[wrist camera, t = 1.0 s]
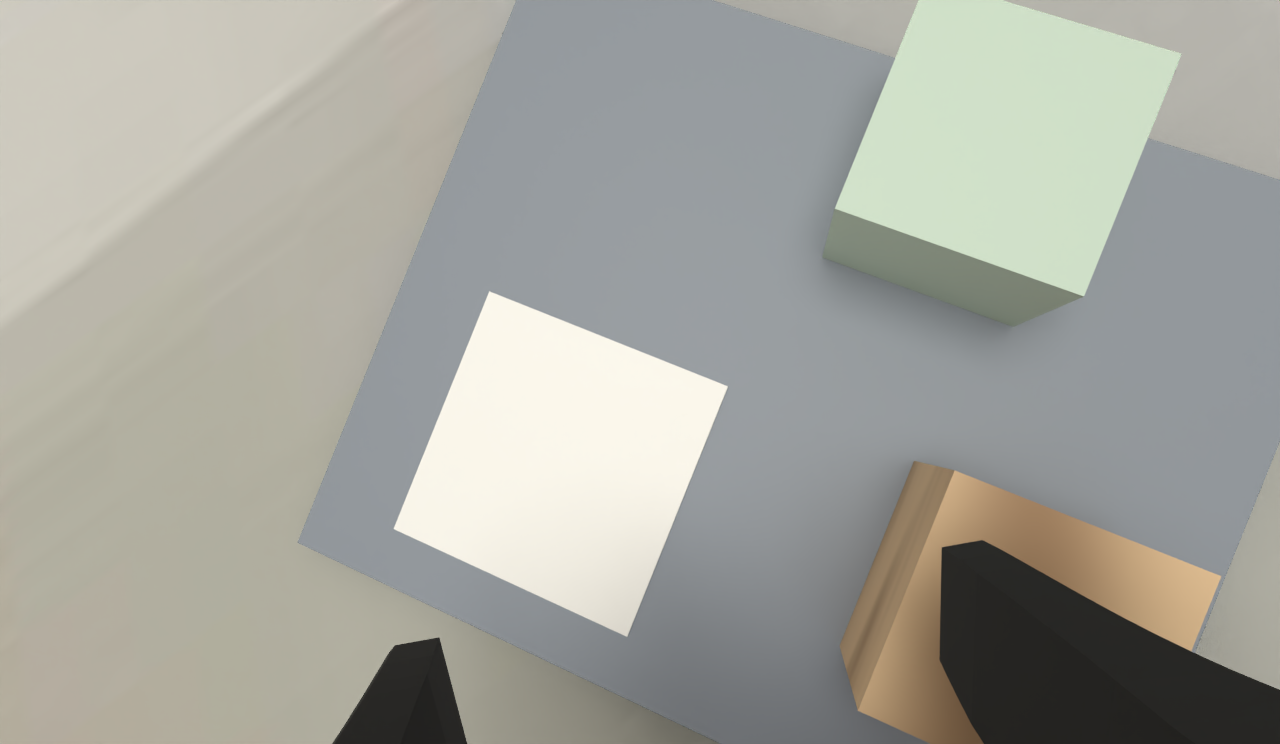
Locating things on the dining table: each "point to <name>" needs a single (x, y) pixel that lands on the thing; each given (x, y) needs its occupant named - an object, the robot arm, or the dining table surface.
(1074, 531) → the oak block
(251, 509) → the dining table surface
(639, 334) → the grey mat
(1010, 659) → the robot arm
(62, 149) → the dining table surface
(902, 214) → the green block
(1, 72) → the dining table surface
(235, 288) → the dining table surface
